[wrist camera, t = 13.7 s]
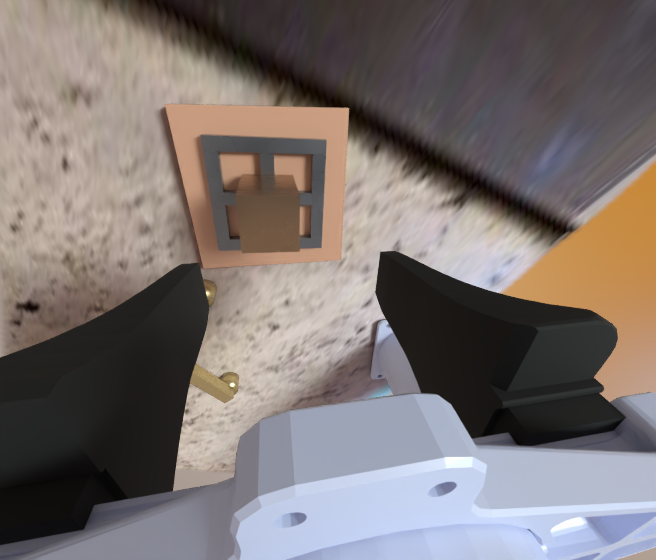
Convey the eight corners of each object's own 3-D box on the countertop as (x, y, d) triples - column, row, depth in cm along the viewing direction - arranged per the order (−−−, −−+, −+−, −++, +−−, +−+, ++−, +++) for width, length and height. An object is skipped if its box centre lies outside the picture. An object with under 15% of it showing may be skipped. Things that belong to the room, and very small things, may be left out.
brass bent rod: (218, 278, 22) (213, 296, 20) (240, 382, 29) (238, 403, 27) (140, 284, 21) (127, 303, 19) (180, 389, 28) (174, 412, 26)
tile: (345, 107, 18) (349, 108, 17) (338, 254, 23) (340, 259, 22) (168, 103, 16) (164, 104, 15) (205, 263, 21) (203, 268, 21)
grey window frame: (325, 138, 18) (343, 152, 13) (320, 244, 21) (333, 281, 17) (202, 133, 16) (180, 147, 12) (220, 246, 20) (207, 287, 16)
